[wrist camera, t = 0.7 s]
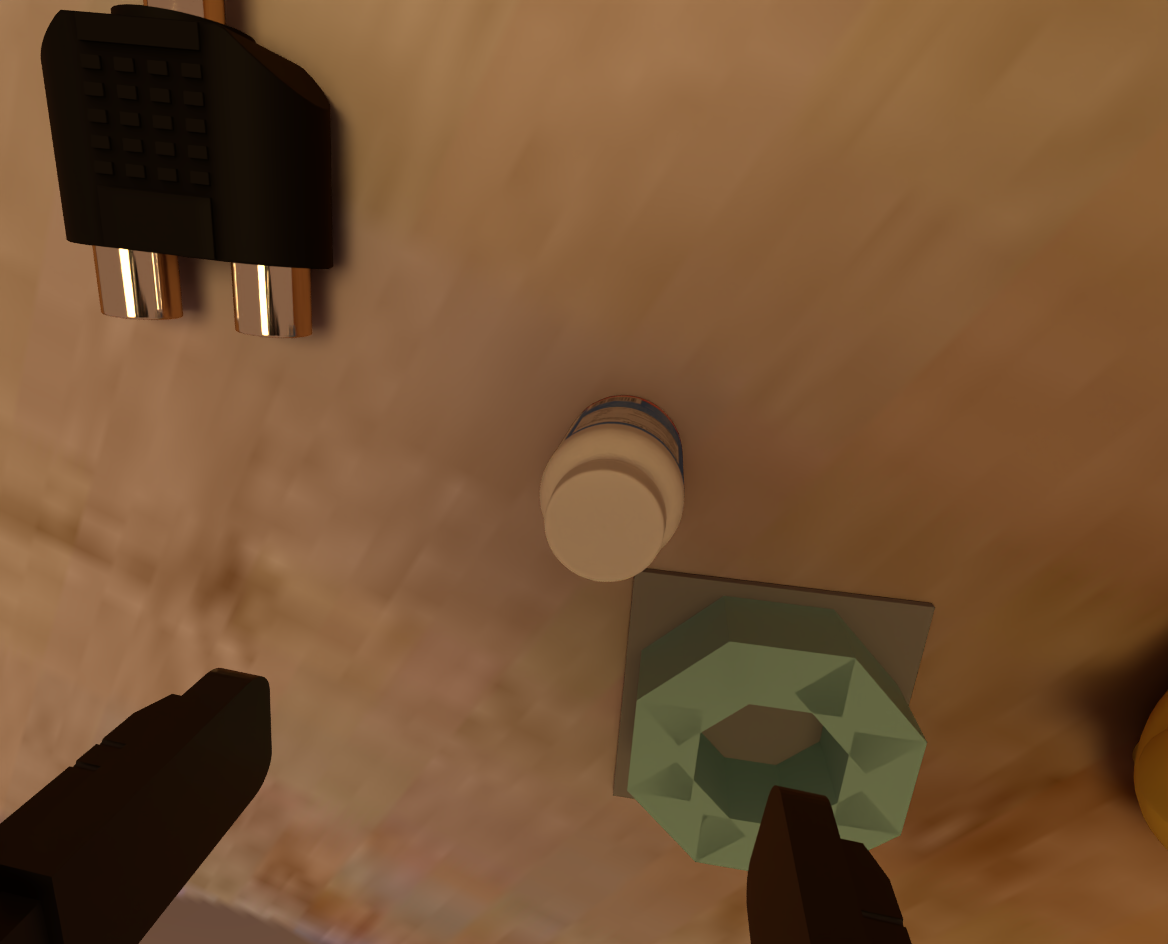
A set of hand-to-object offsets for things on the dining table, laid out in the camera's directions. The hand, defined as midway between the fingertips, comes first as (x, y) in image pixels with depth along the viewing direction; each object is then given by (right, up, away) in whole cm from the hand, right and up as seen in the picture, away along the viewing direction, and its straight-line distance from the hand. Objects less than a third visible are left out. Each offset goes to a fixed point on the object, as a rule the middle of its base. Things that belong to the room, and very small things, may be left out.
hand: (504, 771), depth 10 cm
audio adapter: (-14, +24, +17) cm, 32 cm away
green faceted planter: (+10, -7, +23) cm, 26 cm away
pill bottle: (+3, +6, +20) cm, 21 cm away
